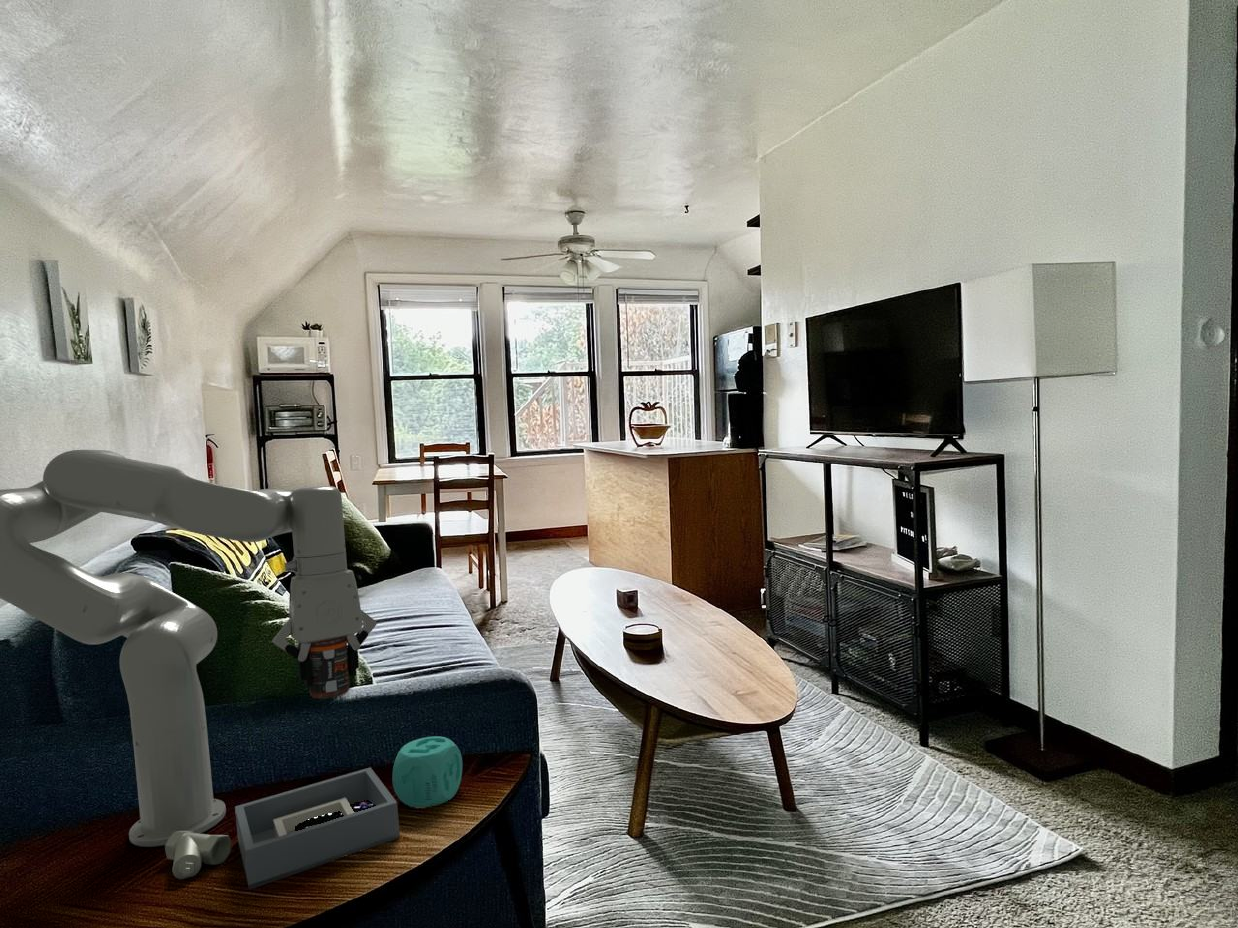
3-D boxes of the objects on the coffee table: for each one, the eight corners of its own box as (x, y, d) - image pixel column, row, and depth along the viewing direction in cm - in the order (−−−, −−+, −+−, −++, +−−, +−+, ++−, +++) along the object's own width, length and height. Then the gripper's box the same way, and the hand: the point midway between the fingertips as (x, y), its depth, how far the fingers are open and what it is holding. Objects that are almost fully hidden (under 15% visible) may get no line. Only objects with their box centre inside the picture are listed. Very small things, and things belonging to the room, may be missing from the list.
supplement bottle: (342, 698, 114) (337, 625, 113) (303, 701, 113) (298, 628, 113) (355, 686, 120) (350, 616, 119) (318, 689, 119) (313, 619, 119)
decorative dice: (393, 808, 112) (389, 756, 112) (419, 783, 120) (415, 735, 120) (442, 810, 110) (437, 757, 110) (464, 785, 118) (460, 736, 118)
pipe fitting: (191, 888, 96) (233, 855, 102) (187, 859, 95) (228, 828, 102) (145, 881, 98) (188, 849, 105) (140, 853, 98) (184, 824, 104)
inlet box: (238, 840, 106) (234, 806, 106) (373, 798, 116) (370, 767, 116) (249, 889, 93) (245, 850, 93) (400, 837, 103) (396, 802, 103)
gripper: (264, 576, 108) (274, 698, 108) (383, 559, 117) (392, 671, 118) (257, 571, 114) (266, 686, 114) (370, 555, 124) (378, 662, 124)
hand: (329, 678), depth 116 cm, fingers closed on supplement bottle, 6 cm apart
